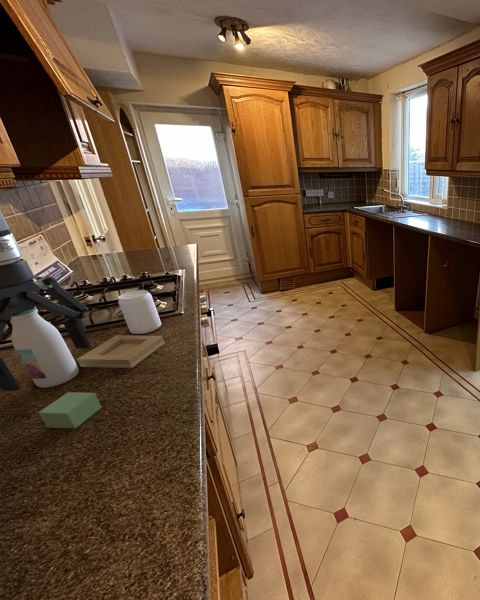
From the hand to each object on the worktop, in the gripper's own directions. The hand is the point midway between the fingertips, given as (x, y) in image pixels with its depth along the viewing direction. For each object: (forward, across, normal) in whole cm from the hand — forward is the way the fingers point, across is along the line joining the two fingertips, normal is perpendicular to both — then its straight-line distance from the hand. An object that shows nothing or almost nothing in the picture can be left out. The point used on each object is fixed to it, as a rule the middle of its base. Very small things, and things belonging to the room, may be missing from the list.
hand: (51, 366), depth 63 cm
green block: (+12, -1, 0) cm, 12 cm away
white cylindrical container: (+12, +36, +14) cm, 41 cm away
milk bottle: (+12, +12, +17) cm, 24 cm away
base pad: (+12, +22, +9) cm, 27 cm away
